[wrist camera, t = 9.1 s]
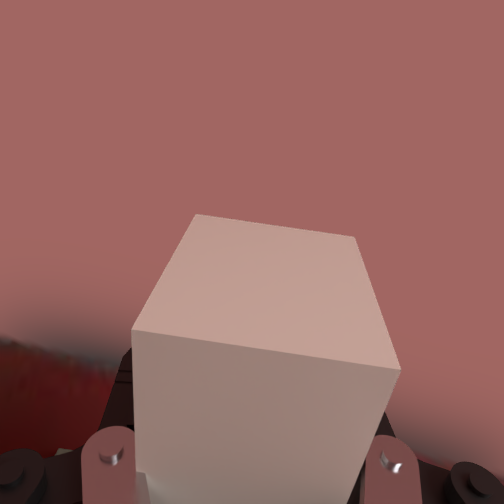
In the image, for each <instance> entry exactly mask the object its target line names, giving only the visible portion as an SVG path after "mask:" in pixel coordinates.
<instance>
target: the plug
mask: <svg viewBox="0 0 504 504" xmlns="http://www.w3.org/2000/svg"><path fill="white" fill-rule="evenodd" d="M131 335H132V367H133V398H134V429H135V460H136V472H143V473H145V474H146V480H147V486H148V491H149V497H150V503H151V504H347V502H348V499H349V497H350V494H351V492H352V489H353V487H354V485H355V482H356V480H357V477H358V475H359V472H360V470H361V467H362V465H363V463H364V460H365V458H366V455H367V453H368V450H369V448H370V445H371V443H372V440H373V438H374V436H375V433H376V431H377V428H378V426H379V423H380V421H381V418H382V416H383V413H384V411H385V408H386V406H387V404H388V401H389V399H390V396H391V394H392V391H393V389H394V386H395V384H396V382H397V379H398V377H399V374H400V372H401V368H400V365H399V362H398V359H397V356H396V353H395V351H394V348H393V345H392V342H391V339H390V336H389V334H388V331H387V328H386V325H385V322H384V319H383V317H382V314H381V311H380V308H379V305H378V303H377V300H376V297H375V294H374V291H373V288H372V285H371V283H370V280H369V277H368V274H367V271H366V268H365V265H364V263H363V260H362V257H361V254H360V251H359V248H358V246H357V243H356V240H355V237H351V236H345V235H338V234H330V233H324V232H317V231H310V230H302V229H296V228H289V227H282V226H275V225H268V224H262V223H255V222H248V221H240V220H234V219H227V218H220V217H213V216H206V215H199V214H196V215H195V217H194V218H193V220H192V222H191V224H190V226H189V227H188V229H187V231H186V233H185V234H184V236H183V238H182V240H181V242H180V243H179V245H178V247H177V249H176V251H175V252H174V254H173V256H172V258H171V259H170V261H169V263H168V265H167V266H166V268H165V270H164V272H163V274H162V276H161V277H160V279H159V281H158V283H157V284H156V286H155V288H154V290H153V292H152V293H151V295H150V297H149V299H148V300H147V302H146V304H145V306H144V308H143V309H142V311H141V313H140V315H139V316H138V318H137V320H136V322H135V324H134V325H133V327H132V329H131Z"/></svg>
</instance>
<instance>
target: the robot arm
mask: <svg viewBox="0 0 504 504" xmlns="http://www.w3.org/2000/svg"><path fill="white" fill-rule="evenodd" d="M0 504H151V503H150V497H149V491H148V486H147V480H146V474H145V473H143V472H136V460H135V429H134V398H133V367H132V348H131V349H130V350H129V351H128V352H127V353H126V354H125V355H124V356H123V358H122V361H121V364H120V367H119V370H118V373H117V376H116V379H115V383H114V385H113V388H112V391H111V394H110V397H109V400H108V403H107V406H106V409H105V412H104V415H103V418H102V421H101V424H100V426H99V429H98V430H97V432H96V433H95V434H94V435H92V436H91V437H90V438H89V439H88V440H87V442H86V443H85V444H84V445H83V446H81V447H79V448H77V449H75V450H73V451H70V452H67V453H63V454H60V455H56V456H52V457H48V458H44V459H43V458H42V456H41V455H40V454H39V453H38V452H36V451H34V450H31V449H15V450H11V451H8V452H5V453H3V454H1V455H0ZM347 504H504V486H503V485H502V484H501V483H500V481H499V480H498V479H497V478H496V477H495V476H494V475H493V474H492V473H490V472H489V471H488V470H486V469H485V468H483V467H481V466H479V465H477V464H474V463H471V462H459V463H456V464H455V465H454V466H453V467H452V469H451V471H449V470H446V469H443V468H440V467H437V466H434V465H431V464H428V463H425V462H423V461H421V460H419V459H417V458H416V456H415V455H414V453H413V452H412V450H411V449H410V448H409V447H408V446H407V445H406V444H405V443H403V442H402V441H400V440H399V439H397V438H396V437H395V435H394V432H393V430H392V428H391V425H390V423H389V420H388V418H387V416H386V414H385V411H384V413H383V416H382V418H381V421H380V423H379V426H378V428H377V431H376V433H375V436H374V438H373V440H372V443H371V445H370V448H369V450H368V453H367V455H366V458H365V460H364V463H363V465H362V467H361V470H360V472H359V475H358V477H357V480H356V482H355V485H354V487H353V489H352V492H351V494H350V497H349V499H348V502H347Z"/></svg>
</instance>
